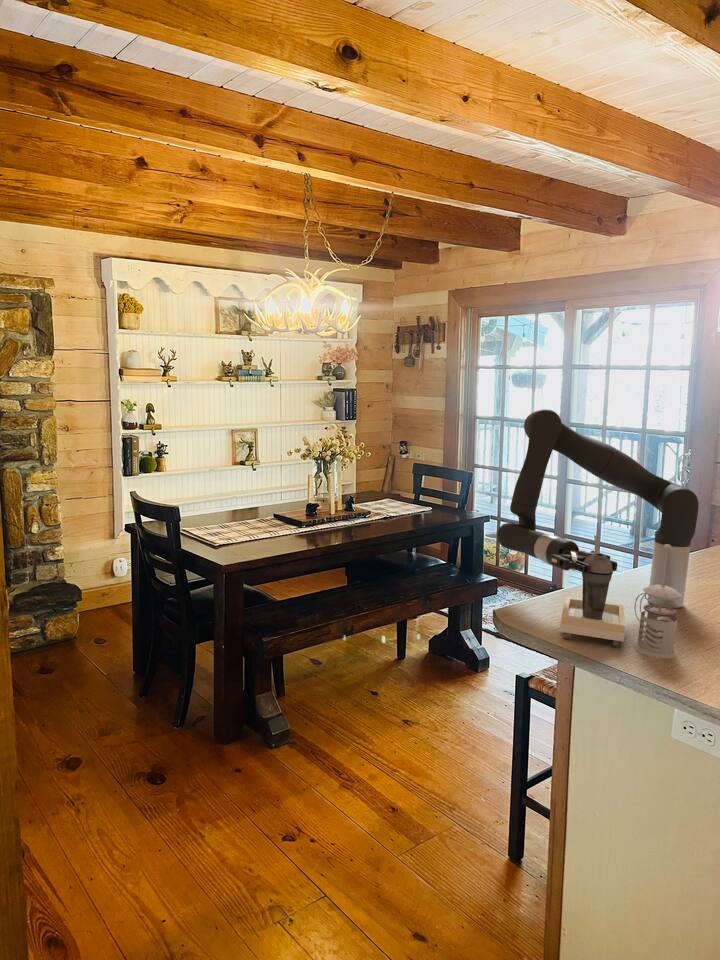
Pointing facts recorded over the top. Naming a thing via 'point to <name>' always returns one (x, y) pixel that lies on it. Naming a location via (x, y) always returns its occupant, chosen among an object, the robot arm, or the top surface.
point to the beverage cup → (596, 584)
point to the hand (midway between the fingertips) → (602, 568)
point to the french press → (658, 622)
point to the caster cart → (593, 621)
